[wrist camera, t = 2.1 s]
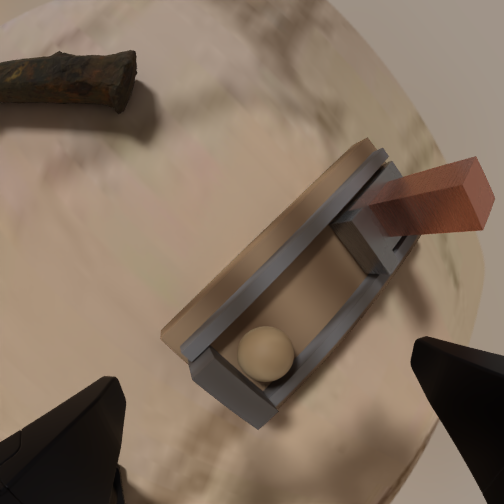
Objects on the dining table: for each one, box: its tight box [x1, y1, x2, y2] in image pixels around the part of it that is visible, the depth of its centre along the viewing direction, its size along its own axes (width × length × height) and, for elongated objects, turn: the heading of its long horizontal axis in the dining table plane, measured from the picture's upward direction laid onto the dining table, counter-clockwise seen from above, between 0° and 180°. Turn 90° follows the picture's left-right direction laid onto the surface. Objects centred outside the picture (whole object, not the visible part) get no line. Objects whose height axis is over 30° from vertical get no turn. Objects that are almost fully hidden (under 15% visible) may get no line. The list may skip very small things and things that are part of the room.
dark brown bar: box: [0, 50, 137, 114], centre depth 13 cm, size 19×4×5 cm, turn 80°
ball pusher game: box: [160, 137, 421, 430], centre depth 18 cm, size 20×9×5 cm, turn 133°
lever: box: [329, 156, 495, 275], centre depth 16 cm, size 7×4×9 cm, turn 133°
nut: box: [237, 326, 294, 382], centre depth 16 cm, size 3×3×3 cm
